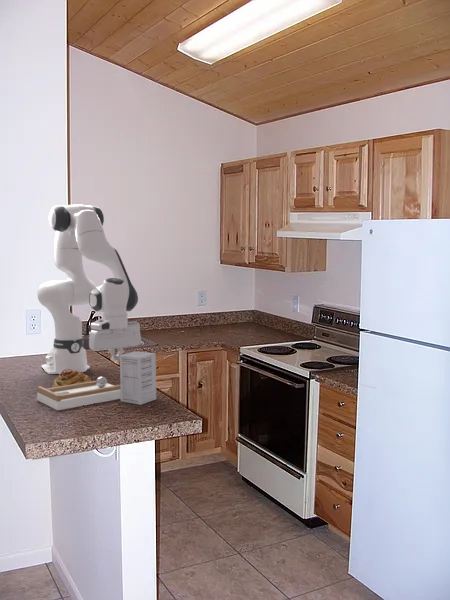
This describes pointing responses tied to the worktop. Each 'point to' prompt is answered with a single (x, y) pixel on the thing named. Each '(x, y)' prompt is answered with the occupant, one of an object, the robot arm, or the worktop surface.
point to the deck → (77, 395)
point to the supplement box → (138, 377)
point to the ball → (101, 382)
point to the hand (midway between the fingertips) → (116, 360)
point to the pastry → (70, 378)
